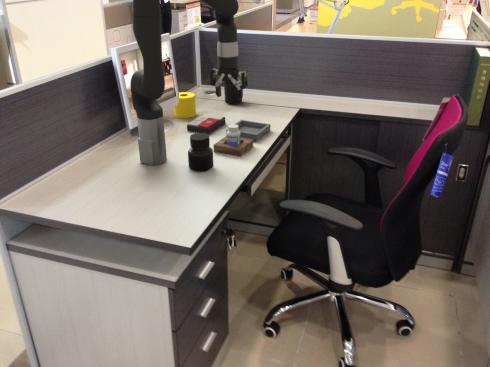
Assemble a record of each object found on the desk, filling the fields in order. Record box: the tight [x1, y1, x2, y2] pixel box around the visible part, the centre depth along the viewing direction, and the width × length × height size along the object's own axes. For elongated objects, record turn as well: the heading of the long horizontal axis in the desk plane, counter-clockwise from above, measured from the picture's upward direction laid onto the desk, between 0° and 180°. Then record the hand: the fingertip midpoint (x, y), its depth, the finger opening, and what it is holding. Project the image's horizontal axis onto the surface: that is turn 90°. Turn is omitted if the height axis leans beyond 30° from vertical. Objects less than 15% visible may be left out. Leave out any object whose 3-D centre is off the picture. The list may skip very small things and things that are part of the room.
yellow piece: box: [173, 91, 197, 119], centre depth 222 cm, size 10×10×9 cm
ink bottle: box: [187, 132, 214, 173], centre depth 168 cm, size 10×9×12 cm
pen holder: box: [223, 82, 243, 106], centre depth 239 cm, size 9×9×10 cm
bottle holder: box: [213, 135, 254, 158], centre depth 185 cm, size 12×12×3 cm
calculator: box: [186, 113, 226, 136], centre depth 208 cm, size 11×4×15 cm
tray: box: [225, 119, 271, 143], centre depth 200 cm, size 14×14×3 cm
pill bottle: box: [227, 123, 241, 146], centre depth 184 cm, size 5×5×10 cm
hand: (229, 97), depth 177 cm, fingers open, 8 cm apart
